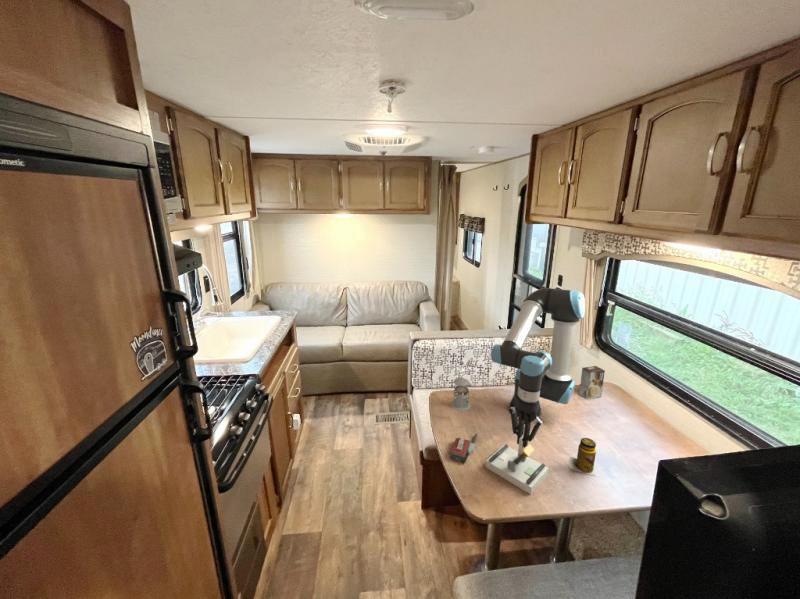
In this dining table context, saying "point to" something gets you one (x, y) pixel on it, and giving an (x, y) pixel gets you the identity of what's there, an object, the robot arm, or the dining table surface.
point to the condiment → (585, 457)
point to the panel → (517, 469)
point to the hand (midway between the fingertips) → (521, 452)
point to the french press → (461, 400)
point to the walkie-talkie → (462, 449)
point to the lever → (523, 454)
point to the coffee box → (591, 382)
